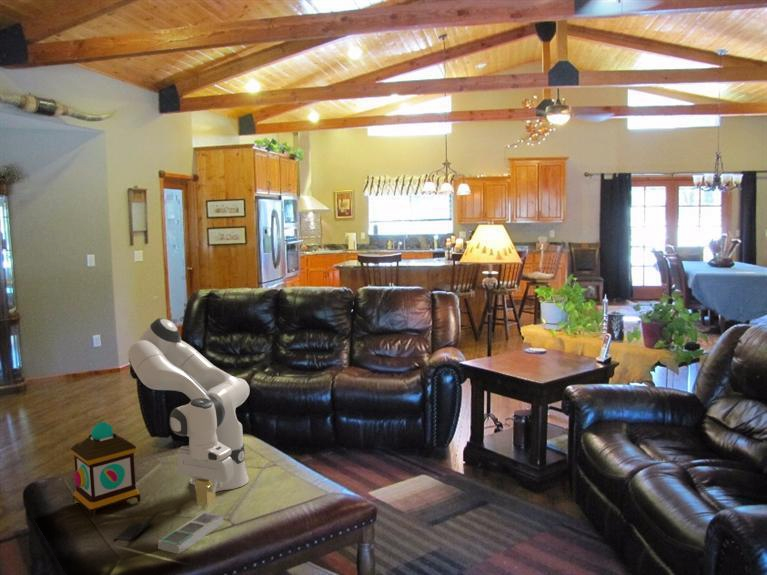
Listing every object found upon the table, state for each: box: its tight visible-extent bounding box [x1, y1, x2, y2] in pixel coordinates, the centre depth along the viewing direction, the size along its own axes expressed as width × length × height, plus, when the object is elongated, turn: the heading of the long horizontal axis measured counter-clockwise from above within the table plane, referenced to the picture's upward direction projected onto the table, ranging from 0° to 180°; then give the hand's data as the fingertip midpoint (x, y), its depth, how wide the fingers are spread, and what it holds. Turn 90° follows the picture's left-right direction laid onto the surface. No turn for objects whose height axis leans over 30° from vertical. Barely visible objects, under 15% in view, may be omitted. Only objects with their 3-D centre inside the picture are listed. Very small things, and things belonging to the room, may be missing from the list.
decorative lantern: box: [70, 421, 141, 519], centre depth 221 cm, size 20×20×30 cm
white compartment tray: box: [157, 511, 224, 555], centre depth 197 cm, size 8×21×3 cm, turn 157°
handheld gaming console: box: [113, 511, 159, 542], centre depth 199 cm, size 12×7×10 cm
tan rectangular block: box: [195, 478, 217, 507], centre depth 202 cm, size 4×4×8 cm
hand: (205, 490), depth 202 cm, fingers closed on tan rectangular block, 4 cm apart
